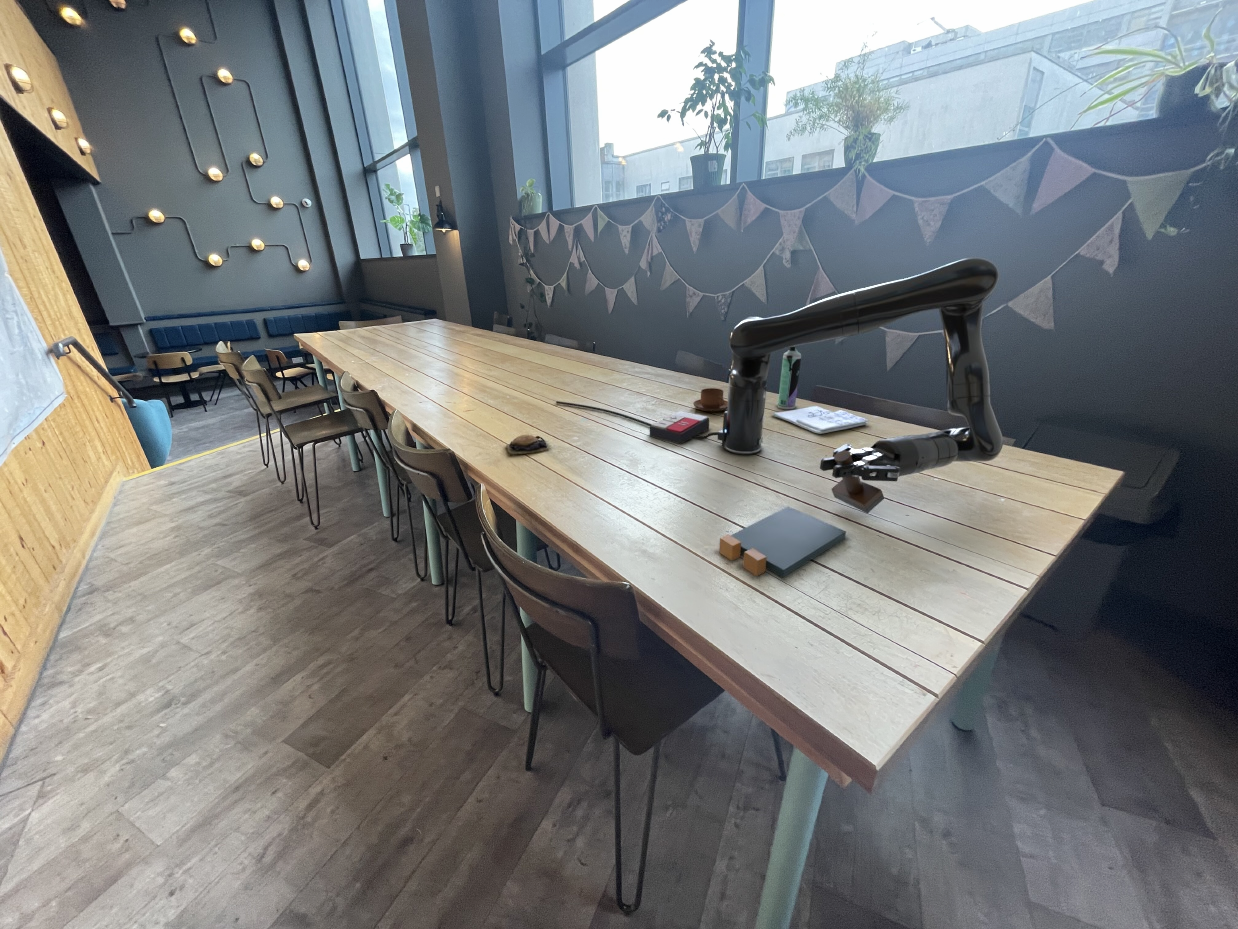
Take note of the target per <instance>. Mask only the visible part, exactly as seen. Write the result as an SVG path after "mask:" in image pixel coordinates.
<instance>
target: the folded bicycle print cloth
mask: <svg viewBox="0 0 1238 929" xmlns="http://www.w3.org/2000/svg"><path fill="white" fill-rule="evenodd" d="M772 416H773V417H775V418H778V419H781V420H784V421H786V422H789V423H791V424H794V425H795V426H798V427H800V428H802V429H805V430H807V431H810V432H812V433H814V434H818V435H819V434H820V435H822V434H826V433H831V432H836V431H844V430H847V429H852V428H856V427H860V426H866V425H867V423H868V422H869V420H868V419H867V418H864V417H861V416H858V415H855V414H853V413H850V412H847V411H844V410H842V409H838V410H836V411H832V410H828V409H825V408H822V407H820V406H817V405H815V406H814V405H813V406H808V407H804V408H797V409H790V410H786V411H785V410H784V411H777V412H773V413H772Z"/></svg>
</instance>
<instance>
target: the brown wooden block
mask: <svg viewBox="0 0 1238 929" xmlns="http://www.w3.org/2000/svg"><path fill="white" fill-rule="evenodd" d="M730 535H731V534H726V535H723V536H721V537H720V538H719V547H718V548H719V549H718V553H719V554H721V555H722V556H723V557H725V558H727V559H728V560H730V561H731V562H732V561H734V560H736V559H739V558H741V554H740V551H741V542H740V541H739V540H737V539H735V538H734V537H732V536H730Z"/></svg>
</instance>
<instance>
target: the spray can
mask: <svg viewBox="0 0 1238 929" xmlns="http://www.w3.org/2000/svg"><path fill="white" fill-rule="evenodd" d="M801 361H802V354H801V352H799V351H798V349H797V345H796V346H792V347H789V349H788V350H787V351H786V352H784V353H783V356H782V363H781V373H780V380H779V391H778V399H777V400H778V401H777V408H778V409H782V410H795V408H796V404H797V395H798V387H799V378H800V370H801Z"/></svg>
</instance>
